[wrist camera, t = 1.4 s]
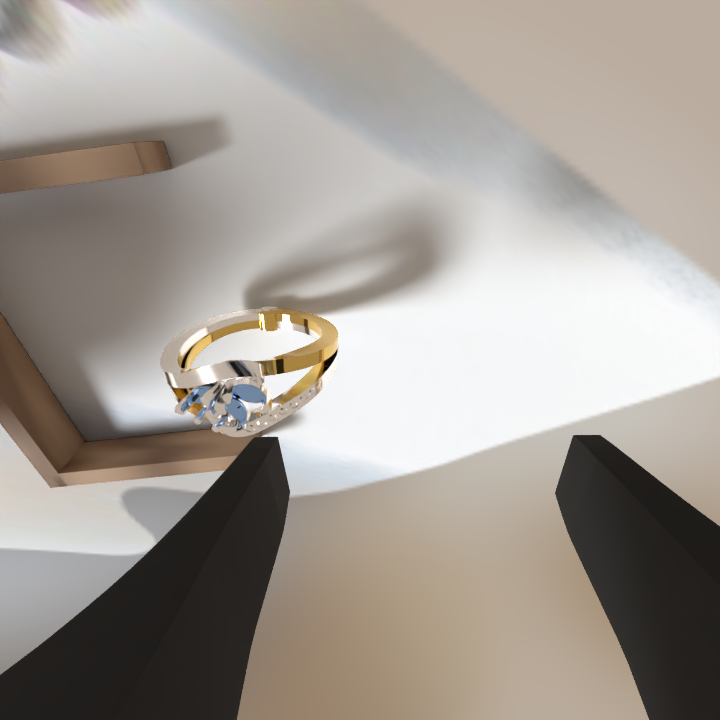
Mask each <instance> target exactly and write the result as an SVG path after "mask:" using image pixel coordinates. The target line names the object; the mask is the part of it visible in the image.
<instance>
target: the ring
mask: <svg viewBox="0 0 720 720" xmlns="http://www.w3.org/2000/svg"><path fill="white" fill-rule="evenodd" d="M255 328H260V329H261V330H263V331H275V330H277V329H278V328H284V329H291V330H296V331H300V332H303V333H306V334H308V335H310V336H312V337H314V338H315V339H317V340H316V341H315V342H313V343H311V344H309V345H307V346H305V347H302V348H300V349H297V350H294V351H291V352H288V353H286V354H283V355H280V356H277V357H273V358H270V359H267V360H264V361H245V360H229V361H223V362H219V363H215V364H212V365H208V366H204V367H200V368H195V369H190V368H191V365H192V363H193V361H194V359H195V358H196V356H197V355H198V354H199V353H200V352H201V351H202V350H203V349H204V348H205V347H206V346H208V345H209V344H210V343H212V342H214V341H215V340H217V339H219V338H221V337H223V336H226V335H228V334H231V333H234V332H238V331H242V330H247V329H255ZM338 349H339V345H338V331H337V329H336V327H335V326H334V325H333V324H332V323H330V322H329V321H327V320H325V319H323V318H321V317H319V316H316V315H313V314H309V313H305V312H300V311H293V310H283V309H278V307H274V306H265V307H262V308H261V309H251V310H243V311H236V312H231V313H227V314H223V315H219V316H216V317H213V318H210V319H207V320H204V321H202V322H200V323H197V324H195V325H193V326H191V327H189V328H188V329H186V330H184V331H183V332H181V333H180V334H178V335H177V336H176V337H174V338H173V339H172V340H171V341H170V342H169V343H168V345H167V346H166V347H165V349H164V351H163V353H162V356H161V361H160V365H161V369H162V372H163V375H164V378H165V381H166V382H167V384H168V385H170V387H171V390H172V393H173V395H174V397H175V399H176V400H177V401H178V404H177V405H176V407H175V412H176V413H178V414H181V415H184V414H185V413H186V412H187V411H189V412H190V413H192V414H194V415H196V416H195V417H194V419H193V422H194V423H195V424H201V422H202V421H203V420H204V419H205V420H208V421H209V422H210V423H211V424H212V425H213V426H212V428H211V429H212V430H213V431H214V432H219V431H220V432H221V433H223V434H225V435H227V436H231V437H245V436H249V435H253V434H255V433H258V432H260V431H262V430H265V429H267V428H268V427H270V426H272V425H274V424H276V423H277V422H279V421H281V420H283V419H284V418H286V417H287V416H289V415H291V414H292V413H294V412H295V411H297V410H298V409H300V408H301V407H303V406H304V405H305V404H307V403H308V402H309V401H310V400H312V399H313V398H314V397H315V396H316V395H317V394H318V393H319V392H320V391H321V390H322V388H323V387H324V386H325V385H326V384H327V382H328V381H329V379H330V378H331V376H332V374H333V373H334V371H335V369H336V366H337V363H338ZM313 365H315V366H314V367H313V368H312V369H311V370H310V371H309V372H308V373H307V374H306V375H305V376H304V377H303V378H302V379H301V380H300V381H299V382H298V383H296V384H295V385H294V386H293V387H291V388H290V389H288V390H287V391H286V392H284V393H283V394H281V395H279V396H278V397H276V398H275V399H273V400H272V393H271V391H270V390H269V389H268V387H266V388H265V387H264V386H263V385H262V384H263V382H264V376H267V375H275V374H281V373H287V372H292V371H296V370H300V369H304V368H307V367H310V366H313ZM233 377H244V378H242V379H238V380H236V378H233ZM227 378H233V379H229V380H227V381H226V382H224V381H221V380H223V379H227ZM260 402H262V405H261V407H259V408H257V409H255V410H253V411H252V410H250V405H249V403H260ZM230 415H231V416H232V417H229V416H230Z"/></svg>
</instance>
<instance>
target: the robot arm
mask: <svg viewBox="0 0 720 720" xmlns="http://www.w3.org/2000/svg"><path fill="white" fill-rule="evenodd" d="M555 494H556V497H557V501H558V504H559V507H560V510H561V513H562V517H563V519H564V522H565V525H566V528H567V531H568V534H569V536H570V538H571V541H572V543H573V545H574V547H575V549H576V552H577V553H578V556H579V558H580V560H581V562H582V564H583V567H584V569H585V571H586V573H587V575H588V577H589V579H590V581H591V583H592V586H593V587H594V590H595V592H596V594H597V596H598V598H599V600H600V602H601V605H602V607H603V609H604V611H605V613H606V615H607V617H608V619H609V621H610V624H611V626H612V628H613V630H614V632H615V634H616V636H617V638H618V641H619V643H620V645H621V648H622V650H623V652H624V654H625V657H626V659H627V662H628V664H629V667H630V669H631V672H632V675H633V677H634V680H635V682H636V685H637V688H638V691H639V693H640V696H641V699H642V701H643V704H644V707H645V709H646V712H647V715H648V717H649V720H720V526H718V525H717V524H716V523H714V522H713V521H712V520H710V519H709V518H707V517H706V516H705V515H703V514H702V513H701V512H699V511H698V510H697V509H695V508H694V507H693V506H691V505H690V504H689V503H687V502H686V501H685V500H683V499H682V498H681V497H679V496H678V495H677V494H676V493H674V492H673V491H672V490H670V489H669V488H668V487H667V486H665V485H664V484H663V483H661V482H660V481H659V480H658V479H656V478H655V477H654V476H652V475H651V474H650V473H649V472H647V471H646V470H645V469H643V468H642V467H641V466H640V465H638V464H637V463H636V462H635V461H633V460H632V459H631V458H630V457H628V456H627V455H626V454H624V453H623V452H622V451H620V450H619V449H618V448H617V447H615V446H614V445H613V444H611V443H610V442H609V441H607V440H606V439H605V438H603V437H602V436H601V435H574V436H573V438H572V441H571V444H570V447H569V450H568V454H567V457H566V460H565V463H564V466H563V469H562V473H561V476H560V479H559V482H558V485H557V488H556V492H555ZM289 495H290V490H289V485H288V481H287V476H286V472H285V467H284V463H283V458H282V454H281V449H280V445H279V440H278V437H254V438H253V439H252V440H251V441H250V442H249V443H248V444H247V445H246V447H245V448H244V449H243V450H242V451H241V453H240V454H239V455H238V456H237V457H236V458H235V460H234V461H233V462H232V463H231V464H230V465H229V467H228V468H227V469H226V470H225V471H224V472H223V474H222V475H221V476H220V477H219V478H218V479H217V480H216V482H215V483H214V484H213V485H212V486H211V487H210V488H209V489H208V491H207V492H206V493H205V494H204V495H203V496H202V497H201V498H200V499H199V501H198V502H197V503H196V504H195V505H194V506H193V507H192V508H191V509H190V510H189V511H188V513H187V514H186V515H185V516H184V517H183V518H182V519H181V520H180V521H179V522H178V523H177V524H176V525H175V526H174V527H173V528H172V529H171V530H170V531H169V532H168V533H167V534H166V535H165V536H164V537H163V538H162V539H161V540H160V541H159V542H158V543H157V544H156V545H155V546H154V547H153V548H152V549H151V550H150V551H149V552H148V553H147V554H146V555H145V556H144V557H143V558H142V559H141V560H140V561H138V562H137V563H136V564H135V565H134V566H133V567H132V568H131V569H130V570H129V571H128V572H126V573H125V574H124V575H123V576H122V577H121V578H120V579H119V580H118V581H117V582H116V583H114V584H113V585H112V586H111V587H110V588H109V589H107V590H106V591H105V592H104V593H103V594H102V595H101V596H99V597H98V598H97V599H96V600H94V601H93V602H92V603H91V604H90V605H89V606H87V607H86V608H85V609H84V610H83V611H81V612H80V613H79V614H78V615H76V616H75V617H74V618H73V619H72V620H70V621H69V622H68V623H67V624H66V625H64V626H63V627H62V628H61V629H59V630H58V631H57V632H56V633H54V634H53V635H52V636H51V637H50V638H48V639H47V640H46V641H45V642H43V643H42V644H41V645H39V646H38V647H37V648H35V649H34V650H33V651H31V652H30V653H29V654H27V656H25V657H24V658H22V659H21V660H20V661H18V662H17V663H16V664H14V665H13V666H12V667H10V668H9V669H8V670H6V671H5V672H4V673H2V674H1V675H0V720H237V715H238V710H239V705H240V699H241V694H242V689H243V684H244V679H245V674H246V669H247V664H248V659H249V654H250V649H251V645H252V641H253V637H254V633H255V629H256V625H257V622H258V618H259V615H260V611H261V608H262V604H263V600H264V598H265V594H266V591H267V587H268V583H269V580H270V577H271V573H272V570H273V566H274V563H275V559H276V556H277V552H278V549H279V545H280V542H281V538H282V534H283V530H284V525H285V518H286V514H287V507H288V501H289Z"/></svg>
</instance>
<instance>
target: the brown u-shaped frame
mask: <svg viewBox="0 0 720 720" xmlns="http://www.w3.org/2000/svg"><path fill="white" fill-rule="evenodd" d="M169 169H172V166H171V163H170V160H169V157H168V154H167V151H166V148H165V145H164V142H163V141H153V142H132V143H125V144H117V145H110V146H103V147H96V148H88V149H81V150H74V151H67V152H59V153H52V154H45V155H38V156H30V157H23V158H16V159H9V160H1V161H0V194H2V193H10V192H17V191H25V190H32V189H40V188H47V187H55V186H62V185H70V184H77V183H84V182H92V181H99V180H107V179H114V178H122V177H129V176H137V175H144V174H149V173H154V172H159V171H164V170H169ZM0 424H1V425H2V426H3V428H4V429H5V430H6V431H7V433H8V434H9V435H10V437H11V438H12V439H13V440H14V442H15V443H16V444H17V445H18V447H19V448H20V449H21V451H22V452H23V453H24V454H25V456H26V457H27V458H28V460H29V461H30V462H31V463H32V465H33V466H34V467H35V468H36V470H37V471H38V472H39V474H40V475H41V476H42V477H43V479H44V480H45V481H46V482H47V484H48V485H49V486H50V488H52V487H62V486H72V485H82V484H92V483H102V482H112V481H122V480H132V479H142V478H152V477H162V476H172V475H181V474H191V473H201V472H211V471H221V470H226V469H227V468H228V467H229V465H230V464H231V463H232V462H233V461H234V460H235V458H236V457H237V456H238V455H239V454H240V453H241V451H242V450H243V449H244V448H245V447H246V445H247V444H248V443H249V442H250V441H251V440H252V439H253V438H254V437H261V434H260V432H258V433H255V434H253V435H249V436H245V437H231V436H227V435H225V434H223V433H221V432H220V431H219V432H214V431H213V430H212V429H206V430H196V431H187V432H177V433H168V434H158V435H149V436H139V437H130V438H120V439H111V440H101V441H92V442H85V441H84V439H83V438H82V436H81V435H80V433H79V432H78V430H77V429H76V427H75V426H74V424H73V423H72V421H71V420H70V418H69V417H68V415H67V414H66V412H65V411H64V409H63V407H62V406H61V404H60V403H59V401H58V400H57V398H56V397H55V395H54V394H53V392H52V391H51V389H50V388H49V386H48V385H47V383H46V382H45V380H44V378H43V377H42V375H41V374H40V372H39V371H38V369H37V368H36V366H35V365H34V363H33V362H32V360H31V359H30V357H29V356H28V354H27V353H26V351H25V350H24V348H23V346H22V345H21V343H20V342H19V340H18V339H17V337H16V336H15V334H14V333H13V331H12V330H11V328H10V327H9V325H8V324H7V322H6V321H5V319H4V318H3V316H2V314H1V313H0Z"/></svg>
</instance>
